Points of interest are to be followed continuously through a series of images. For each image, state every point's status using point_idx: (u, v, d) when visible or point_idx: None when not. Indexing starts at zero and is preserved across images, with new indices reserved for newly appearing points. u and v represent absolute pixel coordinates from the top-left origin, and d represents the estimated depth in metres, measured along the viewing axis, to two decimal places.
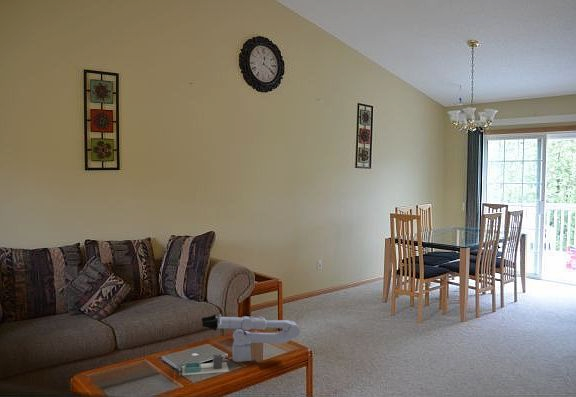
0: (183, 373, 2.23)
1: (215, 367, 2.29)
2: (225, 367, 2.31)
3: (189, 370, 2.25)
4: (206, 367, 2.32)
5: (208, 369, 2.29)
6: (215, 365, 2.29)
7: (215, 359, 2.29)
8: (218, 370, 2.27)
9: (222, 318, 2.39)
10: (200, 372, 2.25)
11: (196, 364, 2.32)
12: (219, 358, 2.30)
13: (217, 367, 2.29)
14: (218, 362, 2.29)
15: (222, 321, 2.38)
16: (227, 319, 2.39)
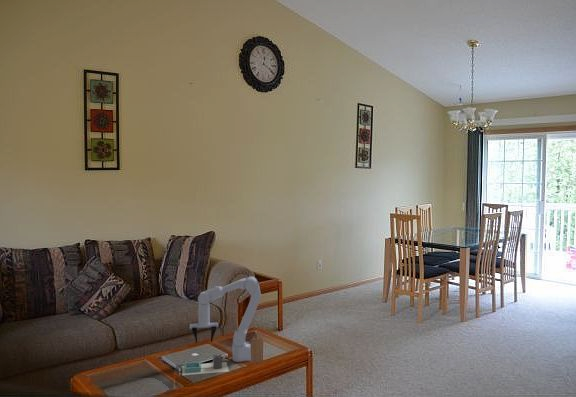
0: (183, 373, 2.23)
1: (215, 367, 2.29)
2: (225, 367, 2.31)
3: (189, 370, 2.25)
4: (206, 367, 2.32)
5: (208, 369, 2.29)
6: (215, 365, 2.29)
7: (215, 359, 2.29)
8: (218, 370, 2.27)
9: None
10: (200, 372, 2.25)
11: (196, 364, 2.32)
12: (219, 358, 2.30)
13: (217, 367, 2.29)
14: (218, 362, 2.29)
15: None
16: None
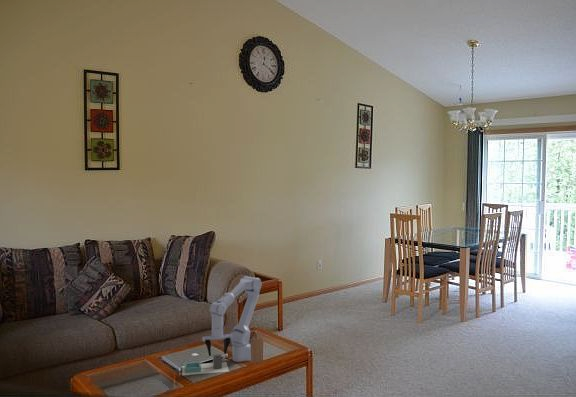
0: (183, 373, 2.23)
1: (215, 367, 2.29)
2: (225, 367, 2.31)
3: (189, 370, 2.25)
4: (206, 367, 2.32)
5: (208, 369, 2.29)
6: (215, 365, 2.29)
7: (215, 359, 2.29)
8: (218, 370, 2.27)
9: None
10: (200, 372, 2.25)
11: (196, 364, 2.32)
12: (219, 358, 2.30)
13: (217, 367, 2.29)
14: (218, 362, 2.29)
15: None
16: None
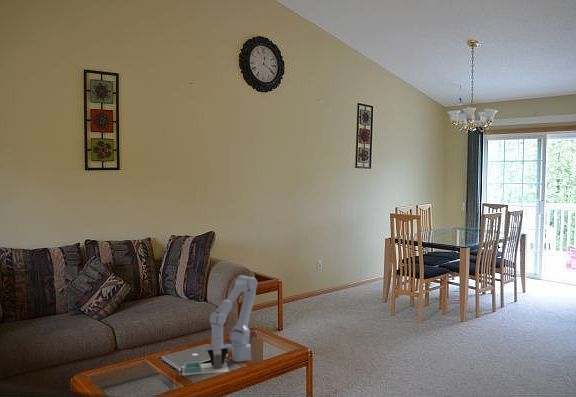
0: (183, 373, 2.23)
1: (215, 367, 2.29)
2: (225, 367, 2.31)
3: (189, 370, 2.25)
4: (206, 367, 2.32)
5: (208, 369, 2.29)
6: (215, 365, 2.29)
7: (215, 359, 2.29)
8: (218, 370, 2.27)
9: None
10: (200, 372, 2.25)
11: (196, 364, 2.32)
12: (219, 358, 2.30)
13: (217, 367, 2.29)
14: (218, 362, 2.29)
15: None
16: None
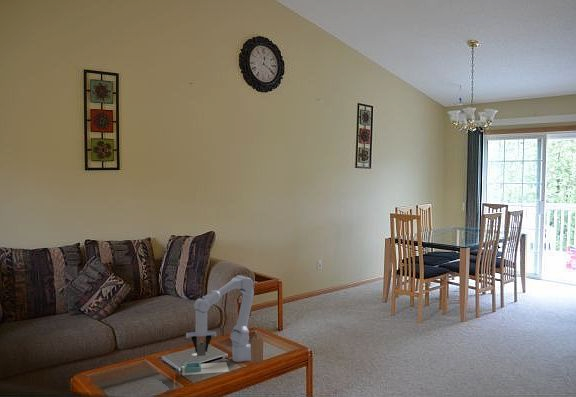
0: (183, 373, 2.23)
1: (198, 354, 2.27)
2: (225, 367, 2.31)
3: (189, 370, 2.25)
4: (206, 367, 2.32)
5: (208, 369, 2.29)
6: (198, 352, 2.27)
7: (198, 346, 2.27)
8: (218, 370, 2.27)
9: None
10: (200, 372, 2.25)
11: (196, 364, 2.32)
12: (202, 345, 2.27)
13: (200, 354, 2.27)
14: (201, 349, 2.27)
15: None
16: None
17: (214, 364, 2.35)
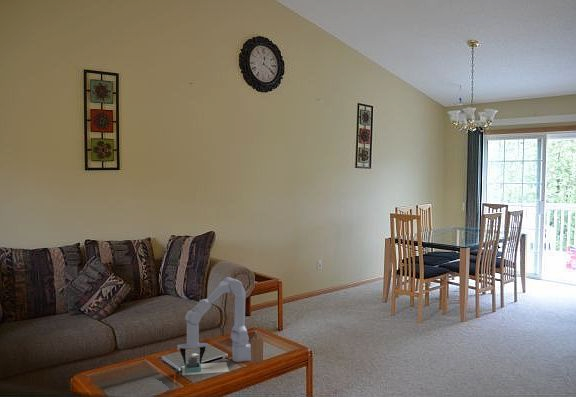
0: (183, 373, 2.23)
1: None
2: (225, 367, 2.31)
3: (189, 370, 2.25)
4: (206, 367, 2.32)
5: (208, 369, 2.29)
6: (190, 367, 2.26)
7: (190, 361, 2.26)
8: (218, 370, 2.27)
9: None
10: (200, 372, 2.25)
11: None
12: (194, 360, 2.27)
13: None
14: (193, 364, 2.27)
15: None
16: None
17: (214, 364, 2.35)
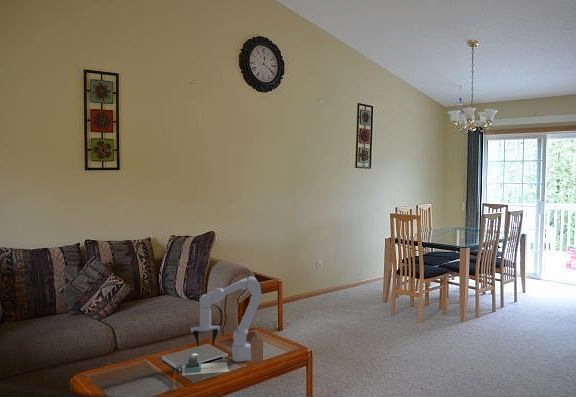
0: (183, 373, 2.23)
1: None
2: (225, 367, 2.31)
3: (189, 370, 2.25)
4: (206, 367, 2.32)
5: (208, 369, 2.29)
6: (190, 367, 2.26)
7: (190, 361, 2.26)
8: (218, 370, 2.27)
9: None
10: (200, 372, 2.25)
11: None
12: (194, 360, 2.27)
13: None
14: (193, 364, 2.27)
15: None
16: None
17: (214, 364, 2.35)
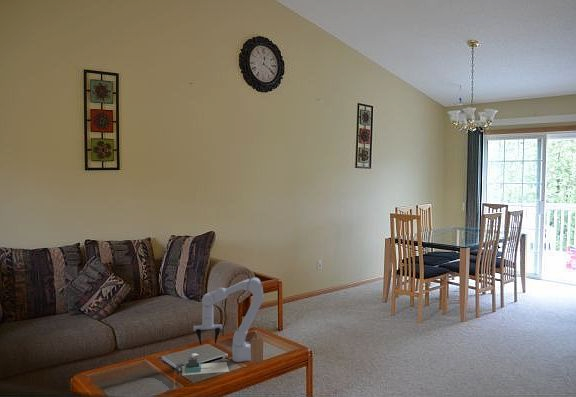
0: (183, 373, 2.23)
1: None
2: (225, 367, 2.31)
3: (189, 370, 2.25)
4: (206, 367, 2.32)
5: (208, 369, 2.29)
6: (190, 367, 2.26)
7: (190, 361, 2.26)
8: (218, 370, 2.27)
9: None
10: (200, 372, 2.25)
11: None
12: (194, 360, 2.27)
13: None
14: (193, 364, 2.27)
15: None
16: None
17: (214, 364, 2.35)
